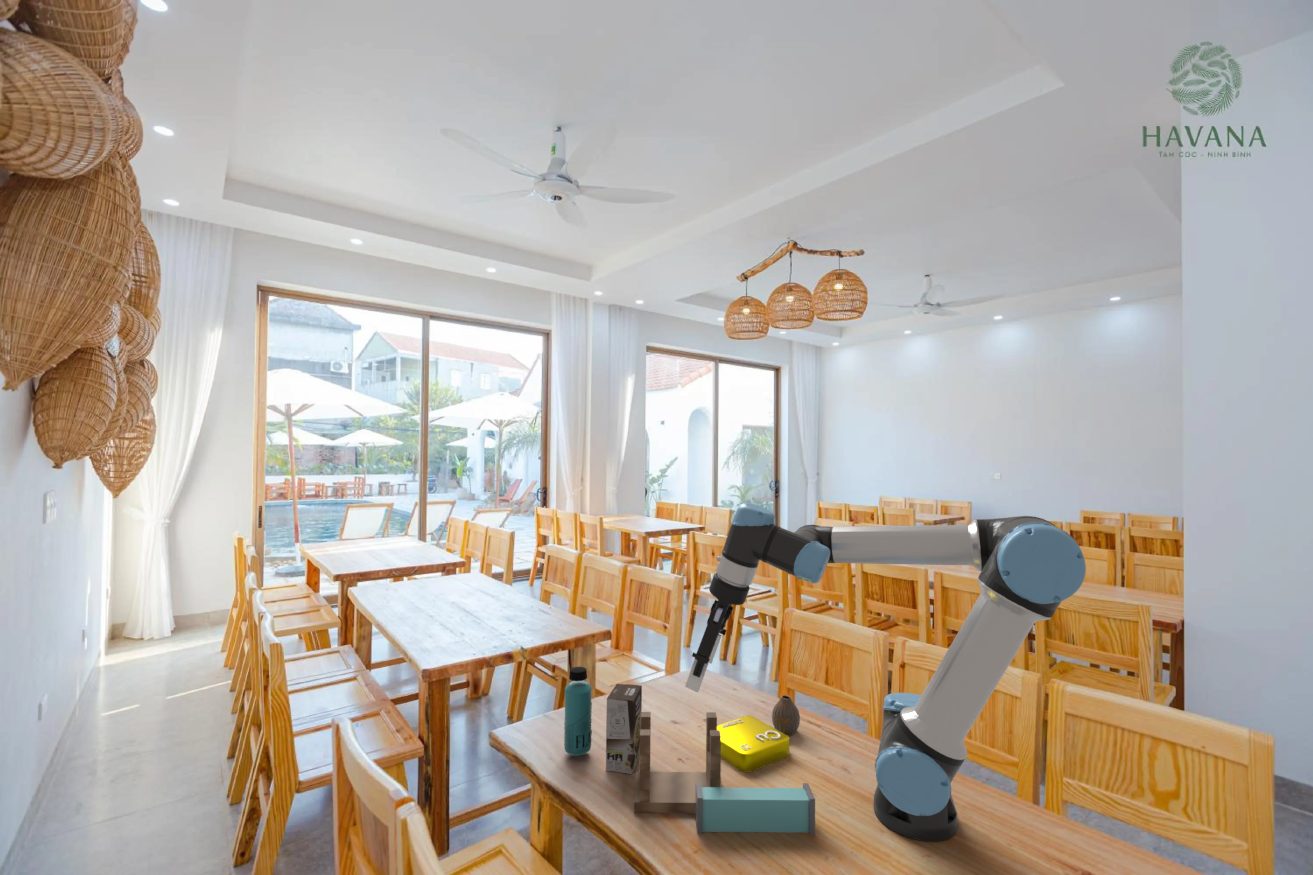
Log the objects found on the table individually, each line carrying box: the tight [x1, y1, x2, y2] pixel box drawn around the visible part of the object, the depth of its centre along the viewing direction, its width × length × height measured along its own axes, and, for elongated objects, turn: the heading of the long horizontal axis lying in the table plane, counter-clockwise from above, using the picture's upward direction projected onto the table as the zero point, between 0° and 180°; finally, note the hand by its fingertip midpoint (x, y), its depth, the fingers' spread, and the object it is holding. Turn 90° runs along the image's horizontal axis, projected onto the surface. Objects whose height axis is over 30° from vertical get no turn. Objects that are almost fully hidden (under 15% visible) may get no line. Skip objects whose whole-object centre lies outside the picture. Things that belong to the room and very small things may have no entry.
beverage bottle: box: [563, 666, 593, 756], centre depth 140 cm, size 6×7×20 cm
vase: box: [771, 695, 801, 737], centre depth 152 cm, size 7×7×9 cm
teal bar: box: [694, 782, 816, 836], centre depth 115 cm, size 22×5×7 cm, turn 90°
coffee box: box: [605, 683, 643, 775], centre depth 137 cm, size 9×6×16 cm
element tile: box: [717, 715, 791, 773], centre depth 143 cm, size 15×15×5 cm
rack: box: [633, 711, 723, 814], centre depth 124 cm, size 18×11×15 cm, turn 90°
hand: (699, 674), depth 123 cm, fingers open, 13 cm apart
